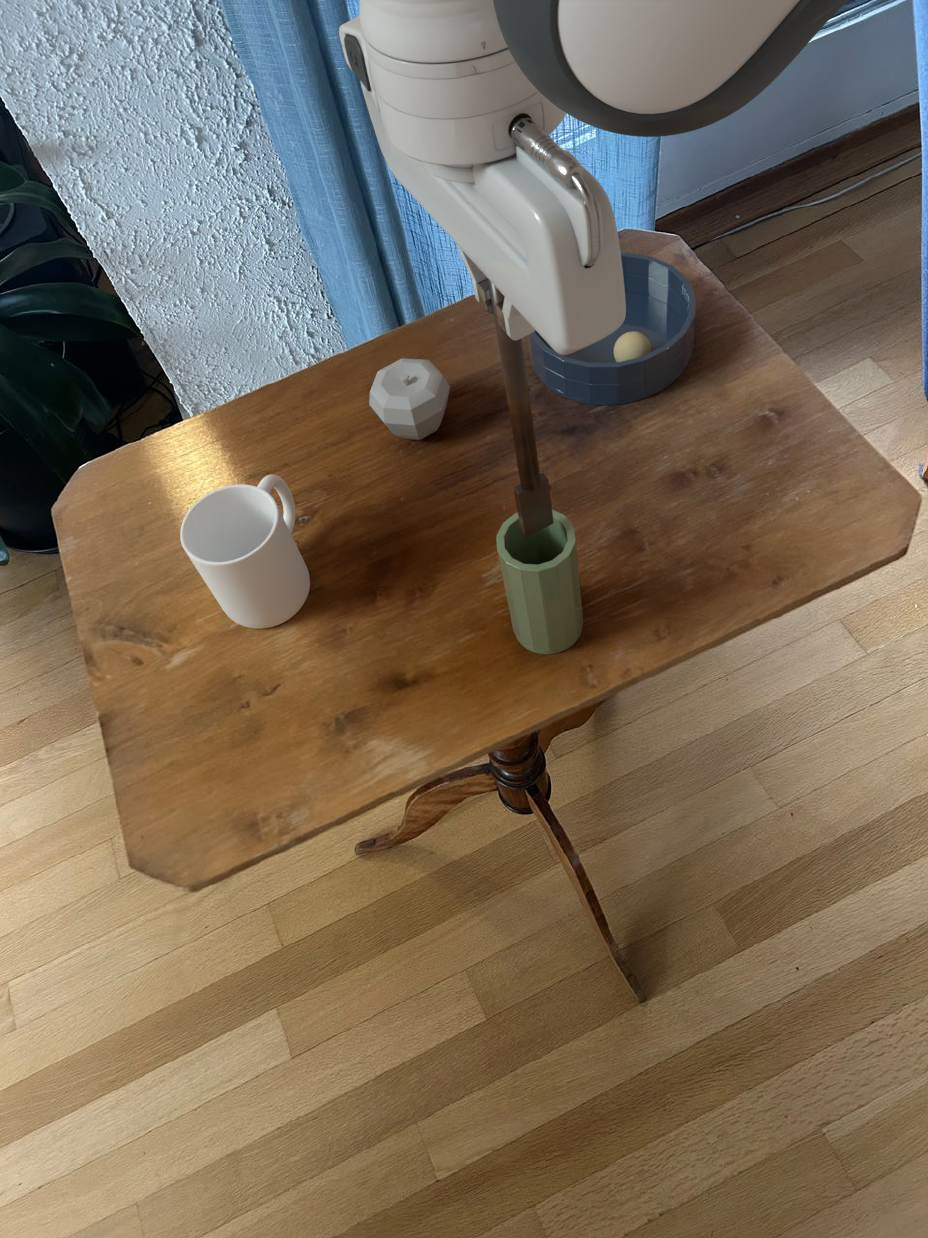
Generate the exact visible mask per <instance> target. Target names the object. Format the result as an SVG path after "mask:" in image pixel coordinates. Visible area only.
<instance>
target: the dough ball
mask: <svg viewBox="0 0 928 1238" xmlns="http://www.w3.org/2000/svg"><path fill="white" fill-rule="evenodd" d="M651 351H652V349H651V344H650V341H649V340H648V338H647V337H646V336H645V335H643V334H642V333H639V332H634V331H633V332H627V333H625V334H623V335H622V336H620V337H619V339H618V340H617V341H616V343H615V346H614V357H615V360H616V362H621V361H626V360H630V359H634V358H638V357H643V356H645V355H647V354H649V353H651Z"/></svg>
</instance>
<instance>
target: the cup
mask: <svg viewBox="0 0 928 1238" xmlns="http://www.w3.org/2000/svg"><path fill="white" fill-rule="evenodd" d="M274 489H275V491H276V492H277V494H278V496H279V498H280V499H281V504H282V509H283V513H282V512H281V510H280V508H279V505H278V504H277V502H276V500H275V499H274V497H273V496H272V495H271V493H272V491H273V490H274ZM294 499H295V498H294V496H293V493H292V490H291V489H290V488H289V485H288V484H287V482H285V480H284V479H283V478H282V477H281V476H279V475H277V474H274V473H271V474H268V475H267V474H266V475H265V476H264V477H263V478H262V479H260V482H259V483H258V484H257V486H255V485H250V484H240V483H239V484H231V485H226V486H223V487H219V488H216V489H214V490H213V491H210V492H209V493H206V494H205V495H204V496H201V498H200V499H198V500H197V501H196V502H195V503H194V504H193V505H192V506H191V507H190V508H189V509H188V511H187V513H186V514H185V516H184V518H183V520H182V523H181V526H180V530H179V531H180V533H179V538H180V543H181V546H182V548H183V550H184V552H185V553H186V555H187V556H188V558H189V559H190V561H191V562H192V564H193V566H194V567H195V569H196V570H197V572H198V573H199V575H200V576H201V578H202V579H203V581H204V583H205V584H206V586H207V587H208V589H209V590H210V592H211V593H212V595H213V597H214V598H215V600H216V602H217V603H218V605H219V606H220V608H221V609H222V610H223V612H224V613H225V615H226V616H227V617H228V618H229V619H230V620H231V621H232V622H234V623H235V624H237V625H240V626H242V627H244V628H249V629H254V630H255V629H256V630H257V629H258V630H260V629H268V628H269V629H270V628H273V627H277V626H279V625H281V624H284V623H285V622H287V621H288V620H290V619H292V618H293V617H294V616H295V615H297V613H298V612H299V611H300V610H301V609H302V607H303V606H304V604H305V602H306V601H307V599H308V597H309V594H310V593H309V592H310V588H311V578H310V577H311V576H310V573H309V570H308V567H307V564H306V562H305V560H304V558H303V556H302V554H301V552H300V550H299V547H298V546H297V543H296V542H295V539H294V537H293V531H294V529H295V524H296V518H297V512H296V503H295V500H294Z"/></svg>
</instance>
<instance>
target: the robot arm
mask: <svg viewBox="0 0 928 1238" xmlns="http://www.w3.org/2000/svg"><path fill="white" fill-rule="evenodd" d="M849 1H850V0H359V5H358V16H355V17H354V18H351V19H350V20H348V21H346V22H344V23H343V24H341V25H340V26H339V28H338V34H339V40H340V44H341V49H342V52H343V56H344V59H345V62H346V63H347V66H348V67H349V69H350V70H351V71H352V72H353V74H354V75H355V76H356V77H357V78H358V79H359V81H360V87H361V90H362V94H363V97H364V101H365V104H366V107H367V110H368V114H369V117H370V120H371V123H372V127H373V131H374V133H375V137H376V139H377V143H378V145H379V148H380V151H381V154H382V156H383V158H384V160H385V163H386V164H387V166H388V168H389V169H390V171H391V173H392V175H393V176H394V178H395V180H396V181H398V182H399V184H400V185H402V187H403V188H404V189H405V190H406V191H407V192H408V193H409V194H410V195H411V196H412V197H413V198H414V200H415V201H416V202H417V203H418V204H419V205H420V206H421V207H422V208H423V209H424V211H426V212H427V213H428V215H429V216H430V217H431V218H432V219H433V220H434V221H435V222H436V224H438V226H439V227H440V228H441V229H442V230H443V231H444V232H445V233H446V235H448V236H449V238H450V239H451V240H452V242H454V243H455V245H456V248H457V250H458V252H459V254H460V256H461V259H462V261H463V263H464V265H465V268H466V270H467V272H468V275H469V276H470V278H471V282H472V288H473V292H474V293H473V294H474V298H475V300H476V301H477V302H478V303H479V305H481V306H482V307H483V309H485V311H486V312H487V313H489V314H490V315H492V314H493V315H494V313H493V307H492V301H491V294H490V288H489V282H488V279H489V280H490V281H491V282H492V283H493V284H494V285H495V286H496V288H497V289H498V290H499V291H500V292H501V293H502V294H503V295H504V296H505V298H504V300H503V301H501V302H499V303H497V304H495V305H496V311H497V315H498V318H499V319H498V323H499V325H500V326H501V327H502V328H503V329H504V331H505V332H506V333H507V335H508V336H509V337H510V338H511V339H512V340H519V339H521V338H522V339H523V338H525V337H527V335H529V334H531V333H533V332H534V331H535V330H536V331H537V332H538V333H539V334H540V335H541V336H542V338H543V339H544V340H545V341H546V342H547V343H548V344H549V345H550V346H551V348H552V349H553V350H554V351H556V352H557V353H558V354H560V355H568V354H571V353H574V352H576V351H578V350H581V349H583V348H585V347H588V346H590V345H592V344H594V343H596V342H598V341H600V340H602V339H603V338H605V337H607V336H608V335H610V334H612V333H613V332H614V331H616V330H617V329H618V328H619V327H620V326H621V325H622V324H623V322H624V320H625V316H626V301H625V288H624V278H623V269H622V260H621V252H622V251H621V245H620V239H619V237H620V236H619V232H618V231H619V230H618V226H617V221H616V218H615V213H614V210H613V207H612V204H611V201H610V198H609V196H608V195H607V193H606V191H605V189H604V187H603V185H602V184H601V183H600V181H598V179H597V178H596V177H595V176H594V175H593V174H592V173H591V172H590V171H589V170H588V169H586V168H585V167H584V166H583V165H582V164H581V162H580V161H579V160H578V159H577V158H576V157H575V156H574V154H572V153H570V152H569V151H567V150H565V149H563V148H562V147H561V146H560V145H559V144H558V143H556V142H555V140H554V139H553V138H552V137H551V136H550V135H551V134H552V133H553V132H554V131H555V130H556V129H557V128H558V127H559V126H560V124H562V122H563V121H564V119H565V117H566V115H569V116H570V117H572V118H574V119H575V120H578V121H579V122H581V123H583V124H586V125H588V126H591V127H593V128H596V129H598V130H602V131H604V132H609V133H612V134H617V135H621V136H629V137H638V138H639V137H640V138H642V137H643V138H654V137H655V138H658V137H659V138H660V137H670V136H676V135H680V134H685V133H690V132H693V131H697V130H699V129H703V128H705V127H708V126H710V125H713V124H715V123H717V122H719V121H721V120H723V119H725V118H728V117H729V116H731V115H732V114H734V113H735V112H738V111H739V110H740V109H742V108H743V107H745V106H746V105H747V104H749V103H751V102H752V100H754V99H755V98H756V97H758V96H760V94H762V92H763V91H765V90H766V89H767V88H768V87H769V86H770V85H771V84H772V83H773V82H774V81H775V80H776V79H777V78H778V77H779V76H780V75H781V74H782V73H783V72H784V71H785V69H787V68H788V66H789V65H790V64H792V62H793V61H794V60H795V59H796V57H797V56H799V54H800V53H801V52H802V51H803V50H804V49H805V47H806V46H807V45H808V44H809V43H810V42H811V41H812V40H813V38H814V37H815V36H816V35H817V34H818V33H819V32H820V31H821V30H822V29H823V28H824V26H825V25H826V24H828V22H829V21H830V20H831V19H832V18H833V17H834V15H836V14H837V13H838V12H839V11H840V10H841V9H842V8H843V6H845V5H846V4H847V3H848V2H849Z"/></svg>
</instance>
